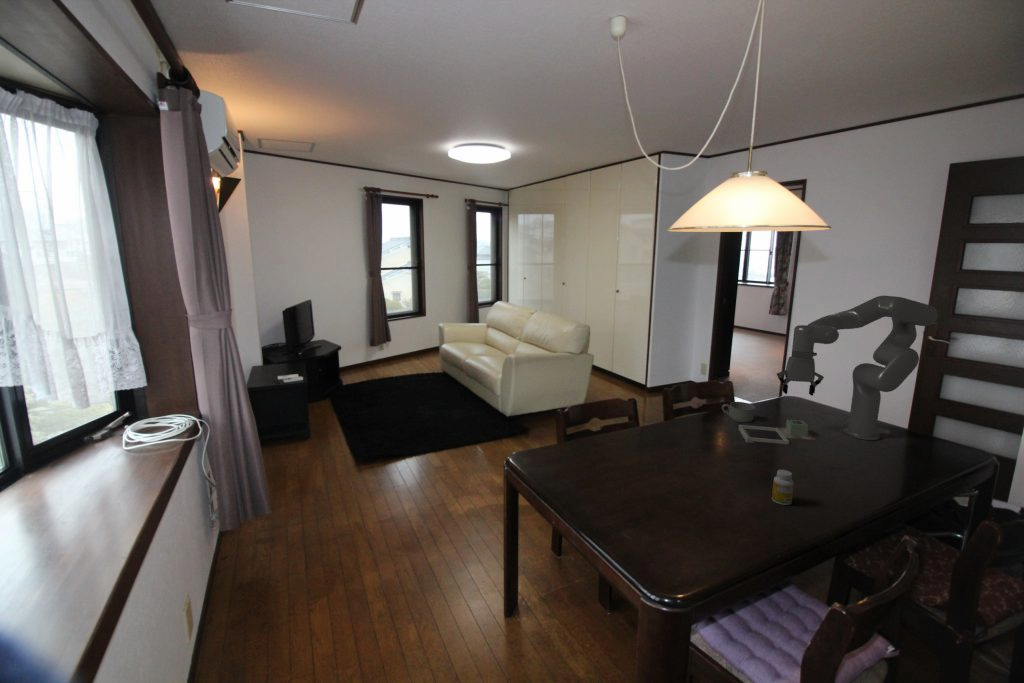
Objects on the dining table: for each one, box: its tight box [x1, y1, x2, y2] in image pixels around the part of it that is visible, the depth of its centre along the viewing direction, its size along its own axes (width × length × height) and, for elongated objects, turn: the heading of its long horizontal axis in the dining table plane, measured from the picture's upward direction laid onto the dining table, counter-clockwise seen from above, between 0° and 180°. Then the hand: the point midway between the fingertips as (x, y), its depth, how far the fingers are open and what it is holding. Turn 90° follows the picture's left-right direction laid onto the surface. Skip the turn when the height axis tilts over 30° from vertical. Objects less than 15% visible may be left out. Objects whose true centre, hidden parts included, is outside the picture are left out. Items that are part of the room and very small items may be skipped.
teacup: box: [721, 401, 756, 424], centre depth 213 cm, size 14×11×8 cm
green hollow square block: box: [785, 419, 809, 437], centre depth 195 cm, size 6×6×5 cm
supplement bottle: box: [771, 469, 795, 506], centre depth 141 cm, size 5×5×10 cm
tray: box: [738, 424, 790, 445], centre depth 193 cm, size 16×16×2 cm
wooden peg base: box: [776, 421, 817, 441], centre depth 195 cm, size 12×12×6 cm
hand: (798, 393), depth 193 cm, fingers open, 9 cm apart
